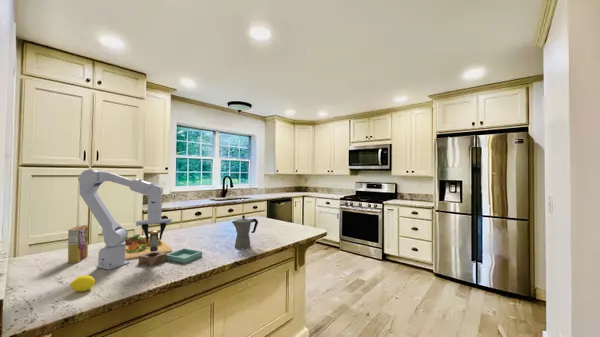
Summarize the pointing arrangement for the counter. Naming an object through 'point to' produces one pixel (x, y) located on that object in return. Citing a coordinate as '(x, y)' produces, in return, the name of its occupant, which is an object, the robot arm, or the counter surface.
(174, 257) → the tray
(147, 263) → the block
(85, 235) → the candy box
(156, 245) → the pin
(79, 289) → the lemon
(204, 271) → the counter surface
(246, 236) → the coffeepot
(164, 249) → the cutting board
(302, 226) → the counter surface
